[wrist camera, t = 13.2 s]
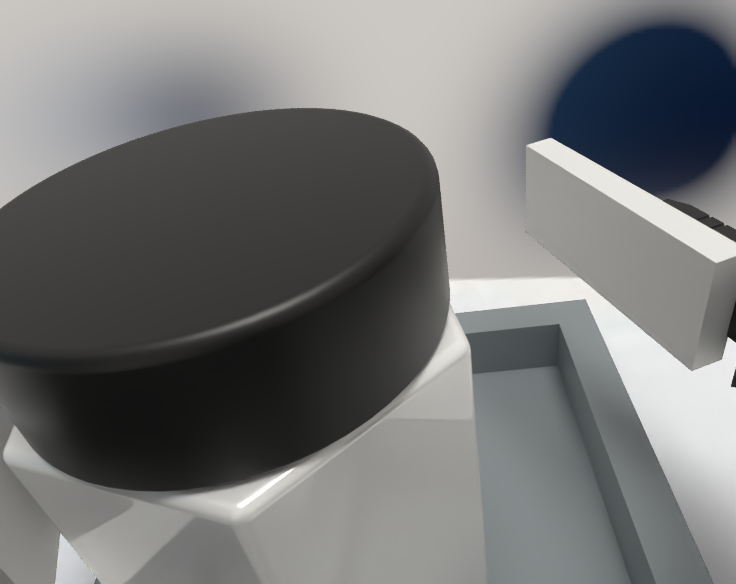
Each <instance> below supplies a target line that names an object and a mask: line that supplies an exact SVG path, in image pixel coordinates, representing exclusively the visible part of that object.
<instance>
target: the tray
mask: <svg viewBox="0 0 736 584" xmlns="http://www.w3.org/2000/svg"><path fill="white" fill-rule="evenodd" d="M455 315H456V317H457V319H458V321H459V323H460V325H461V327H462V329H463V331H464V334H465V336H466V338H467V340H468V342H469V344H470V347H471V359H472V372H473V385H474V399H475V412H476V426H477V439H478V453H479V466H480V479H481V493H482V506H483V520H484V533H485V547H486V560H487V573H488V584H714V583H713V581H712V579H711V577H710V575H709V572H708V570H707V568H706V566H705V563H704V561H703V559H702V557H701V555H700V552H699V550H698V548H697V546H696V543H695V541H694V539H693V537H692V535H691V532H690V530H689V528H688V526H687V524H686V521H685V519H684V517H683V515H682V512H681V510H680V508H679V506H678V504H677V501H676V499H675V497H674V495H673V492H672V490H671V488H670V486H669V484H668V481H667V479H666V477H665V475H664V473H663V470H662V468H661V466H660V464H659V461H658V459H657V457H656V455H655V453H654V450H653V448H652V446H651V444H650V441H649V439H648V437H647V435H646V433H645V430H644V428H643V426H642V424H641V422H640V419H639V417H638V415H637V413H636V410H635V408H634V406H633V404H632V402H631V399H630V397H629V395H628V393H627V391H626V388H625V386H624V384H623V382H622V379H621V377H620V375H619V373H618V371H617V368H616V366H615V364H614V362H613V359H612V357H611V355H610V353H609V351H608V348H607V346H606V344H605V342H604V340H603V337H602V335H601V333H600V331H599V328H598V326H597V324H596V322H595V320H594V317H593V315H592V313H591V311H590V308H589V306H588V304H587V302H586V300H585V299H584V300H574V301H565V302H556V303H547V304H538V305H529V306H519V307H510V308H501V309H492V310H483V311H473V312H464V313H455ZM94 584H101V583H100V581H99V580H98V579H97V578H96V580H95V583H94Z"/></svg>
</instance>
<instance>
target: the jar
mask: <svg viewBox="0 0 736 584" xmlns="http://www.w3.org/2000/svg"><path fill="white" fill-rule="evenodd" d="M0 406H1V407H2V408H3V410H4V411H5V412H6V414H7V415H8V416H9V418H10V419H11V420H12V422H13V423H14V426H13V428H12V431H11V433H10V436H9V438H8V440H7V443H6V445H5V447H4V450H3V459H4V462H5V464H6V465H7V466H8V468H9V469H10V470H11V471H12V473H13V474H14V475H15V476H16V478H17V479H18V480H19V481H20V483H21V484H22V485H23V486H24V488H25V489H26V490H27V491H28V493H29V494H30V495H31V496H32V498H33V499H34V500H35V501H36V503H37V504H38V505H39V506H40V508H41V509H42V510H43V511H44V513H45V514H46V515H47V516H48V518H49V519H50V520H51V521H52V523H53V524H54V525H55V526H56V528H57V529H58V530H59V531H60V533H61V534H62V535H63V536H64V538H65V539H66V540H67V541H68V543H69V544H70V545H71V546H72V548H73V549H74V550H75V551H76V553H77V554H78V555H79V556H80V558H81V559H82V560H83V561H84V563H85V564H86V565H87V566H88V568H89V569H90V570H91V571H92V573H93V574H94V575H95V576H96V578H97V579H98V580H99V581H100V583H101V584H488V573H487V560H486V547H485V533H484V520H483V506H482V493H481V479H480V466H479V453H478V439H477V426H476V412H475V399H474V385H473V372H472V359H471V347H470V344H469V342H468V340H467V338H466V336H465V334H464V331H463V329H462V327H461V325H460V323H459V321H458V319H457V317H456V315H455V313H454V311H453V309H452V307H451V305H450V287H449V277H448V266H447V256H446V246H445V235H444V224H443V215H442V203H441V192H440V182H439V174H438V170H437V167H436V164H435V161H434V158H433V156H432V155H431V153H430V152H429V150H428V148H427V147H426V146H425V145H424V144H423V143H422V142H421V141H420V140H419V139H418V138H417V137H416V136H415V135H413V134H412V133H411V132H409V131H408V130H406V129H404V128H402V127H401V126H399V125H396V124H394V123H392V122H390V121H387V120H384V119H381V118H378V117H375V116H371V115H367V114H363V113H358V112H351V111H345V110H336V109H321V108H295V109H294V108H291V109H275V110H263V111H254V112H247V113H240V114H234V115H228V116H222V117H217V118H212V119H207V120H202V121H198V122H194V123H190V124H185V125H181V126H178V127H174V128H170V129H167V130H163V131H160V132H157V133H153V134H150V135H147V136H144V137H141V138H138V139H135V140H132V141H129V142H127V143H124V144H121V145H119V146H116V147H113V148H111V149H108V150H106V151H103V152H101V153H98V154H96V155H94V156H91V157H89V158H87V159H85V160H82V161H80V162H78V163H76V164H74V165H72V166H70V167H68V168H66V169H64V170H62V171H60V172H58V173H56V174H54V175H52V176H50V177H49V178H47V179H45V180H43V181H42V182H40V183H38V184H36V185H35V186H33V187H31V188H30V189H28V190H27V191H25V192H23V193H22V194H20V195H19V196H17V197H16V198H15V199H13V200H12V201H11V202H9V203H7V204H6V205H5V206H3V207H2V208H1V209H0Z"/></svg>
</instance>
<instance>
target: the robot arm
mask: <svg viewBox="0 0 736 584" xmlns="http://www.w3.org/2000/svg"><path fill="white" fill-rule="evenodd" d="M526 233H527V234H529V235H530V236H531V237H532V238H533V239H534V240H536V241H537V242H538V243H539V244H540V245H542V246H543V247H544V248H545V249H546V250H548V251H549V252H550V253H551V254H552V255H554V256H555V257H556V258H557V259H558V260H560V261H561V262H562V263H563V264H564V265H566V266H567V267H568V268H569V269H570V270H571V271H573V272H574V273H575V274H576V275H577V276H579V277H580V278H581V279H582V280H583V281H585V282H586V283H587V284H588V285H589V286H591V287H592V288H593V289H594V290H595V291H597V292H598V293H599V294H600V295H601V296H603V297H604V298H605V299H606V300H607V301H609V302H610V303H611V304H612V305H613V306H614V307H616V308H617V309H618V310H619V311H620V312H622V313H623V314H624V315H625V316H626V317H628V318H629V319H630V320H631V321H632V322H634V323H635V324H636V325H637V326H638V327H640V328H641V329H642V330H643V331H644V332H646V333H647V334H648V335H649V336H650V337H652V338H653V339H654V340H655V341H656V342H657V343H659V344H660V345H661V346H662V347H663V348H665V349H666V350H667V351H668V352H669V353H671V354H672V355H673V356H674V357H675V358H677V359H678V360H679V361H680V362H681V363H683V364H684V365H685V366H686V367H687V368H689V369H690V370H691V371H693V370H696V369H698V368H701V367H703V366H706V365H709V364H711V363H714V362H716V361H719V360H721V359H722V357H723V353H724V349H725V346H726V342H727V338H728V337H729V338H730V339H732V340H733V341H734V342H736V230H735V229H734V228H732V227H730V226H728V225H726V226H724V223H723V222H721V221H719V220H717V219H715V218H714V217H711V218H710V217H709V215H708V214H706V213H704V212H703V211H700V210H699V209H697V208H695V207H693V206H691V205H688V204H685V203H681V202H677V201H674V200H670V199H666V200H663V201H661V200H659V199H658V198H656V197H654V196H653V195H651V194H649V193H647V192H646V191H644V190H642V189H640V188H639V187H637V186H635V185H633V184H631V183H630V182H628V181H626V180H624V179H623V178H621V177H619V176H617V175H616V174H614V173H612V172H610V171H608V170H607V169H605V168H603V167H601V166H600V165H598V164H596V163H594V162H593V161H591V160H589V159H587V158H586V157H584V156H582V155H580V154H578V153H577V152H575V151H573V150H571V149H569V148H568V147H566V146H564V145H563V144H561V143H559V142H557V141H555V140H554V139H552V138H549V139H546V140H542V141H539V142H536V143H532V144H529V145H526ZM731 387H736V369H735V373H734V376H733V380H732V384H731ZM13 426H14V423H13V422H12V420H11V419H10V418H9V416H8V415H7V414H6V412H5V411H4V410H3V408H2V407H1V406H0V584H55V577H56V568H57V558H58V548H59V539H60V531H59V530H58V529H57V528H56V526H55V525H54V524H53V523H52V521H51V520H50V519H49V518H48V516H47V515H46V514H45V513H44V511H43V510H42V509H41V508H40V506H39V505H38V504H37V503H36V501H35V500H34V499H33V498H32V496H31V495H30V494H29V493H28V491H27V490H26V489H25V488H24V486H23V485H22V484H21V483H20V481H19V480H18V479H17V478H16V476H15V475H14V474H13V473H12V471H11V470H10V469H9V468H8V466H7V465H6V464H5V462H4V459H3V450H4V447H5V445H6V443H7V440H8V438H9V436H10V433H11V431H12V428H13Z"/></svg>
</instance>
